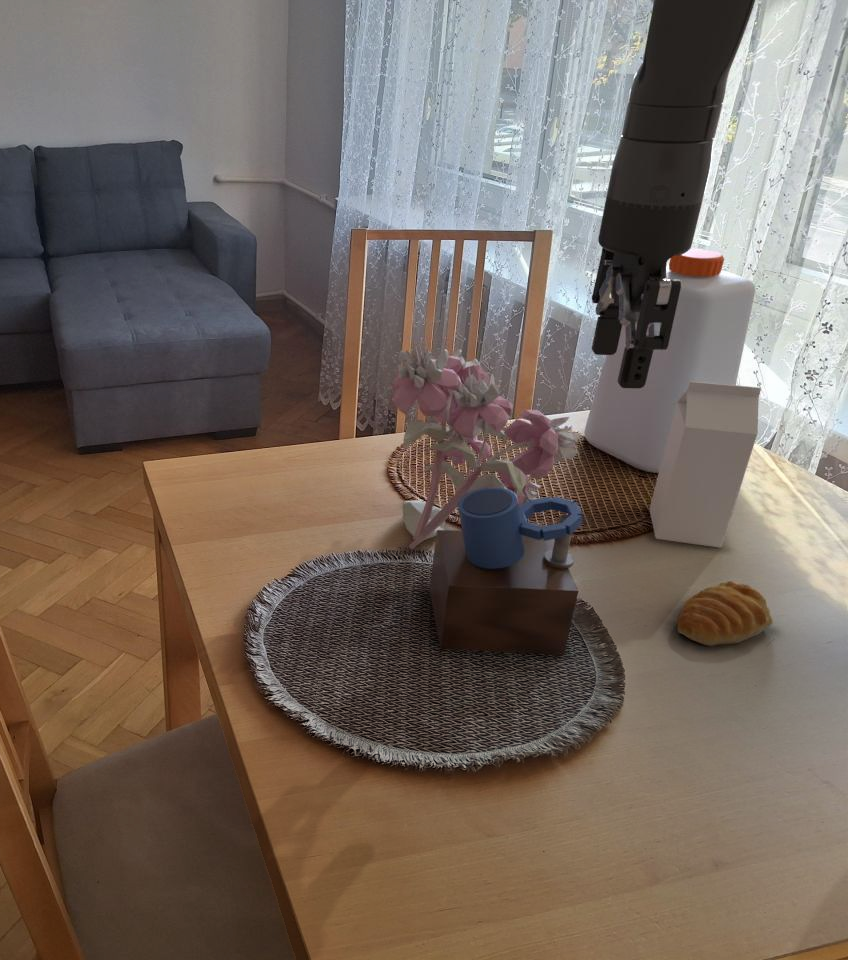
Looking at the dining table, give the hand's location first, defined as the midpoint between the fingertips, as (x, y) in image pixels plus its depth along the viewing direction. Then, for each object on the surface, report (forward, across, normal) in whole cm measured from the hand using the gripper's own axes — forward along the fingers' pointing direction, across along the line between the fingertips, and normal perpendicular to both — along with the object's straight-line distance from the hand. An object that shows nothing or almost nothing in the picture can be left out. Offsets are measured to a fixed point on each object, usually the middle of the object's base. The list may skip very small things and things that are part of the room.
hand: (616, 369), depth 82 cm
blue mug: (+17, -6, +7) cm, 19 cm away
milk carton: (+26, +14, -17) cm, 34 cm away
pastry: (+26, -5, -14) cm, 30 cm away
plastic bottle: (+26, +36, -20) cm, 49 cm away
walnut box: (+26, -6, +9) cm, 28 cm away
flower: (+26, +15, +8) cm, 31 cm away
